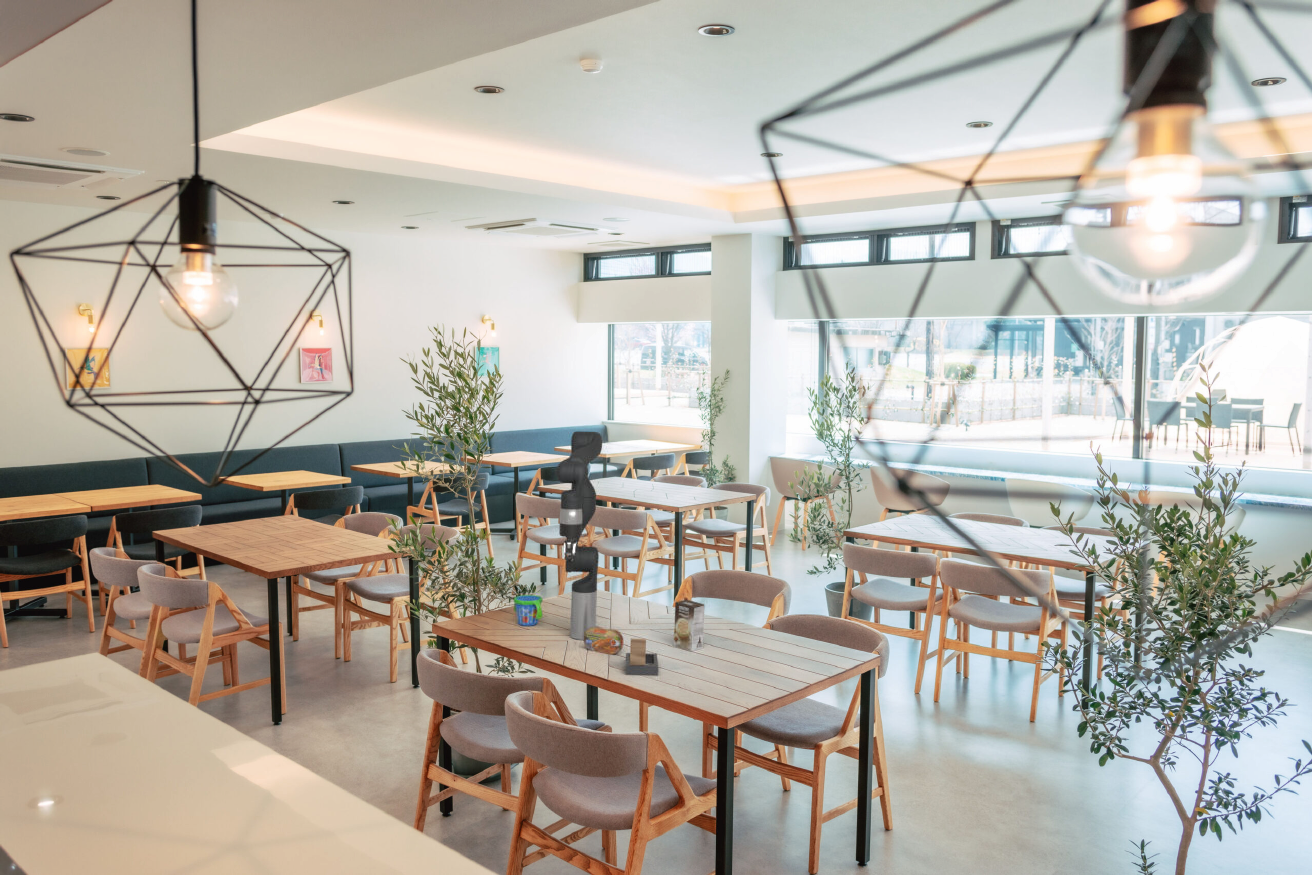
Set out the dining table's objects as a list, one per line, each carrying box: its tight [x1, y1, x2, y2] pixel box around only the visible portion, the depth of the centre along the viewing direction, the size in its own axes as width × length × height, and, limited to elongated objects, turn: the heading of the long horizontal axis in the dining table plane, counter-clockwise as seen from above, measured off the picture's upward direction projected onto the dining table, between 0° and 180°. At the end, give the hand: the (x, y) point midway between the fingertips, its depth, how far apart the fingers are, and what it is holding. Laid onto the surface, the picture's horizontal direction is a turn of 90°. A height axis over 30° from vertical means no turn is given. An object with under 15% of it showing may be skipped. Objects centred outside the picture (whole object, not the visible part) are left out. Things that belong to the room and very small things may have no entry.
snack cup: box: [513, 594, 543, 627], centre depth 352 cm, size 16×10×10 cm
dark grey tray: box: [625, 652, 659, 677], centre depth 302 cm, size 14×10×3 cm
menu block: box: [629, 638, 647, 665], centre depth 301 cm, size 4×5×10 cm
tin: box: [583, 626, 624, 655], centre depth 319 cm, size 15×3×8 cm, turn 62°
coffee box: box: [673, 599, 705, 652], centre depth 328 cm, size 9×6×16 cm
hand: (569, 569), depth 309 cm, fingers open, 8 cm apart
